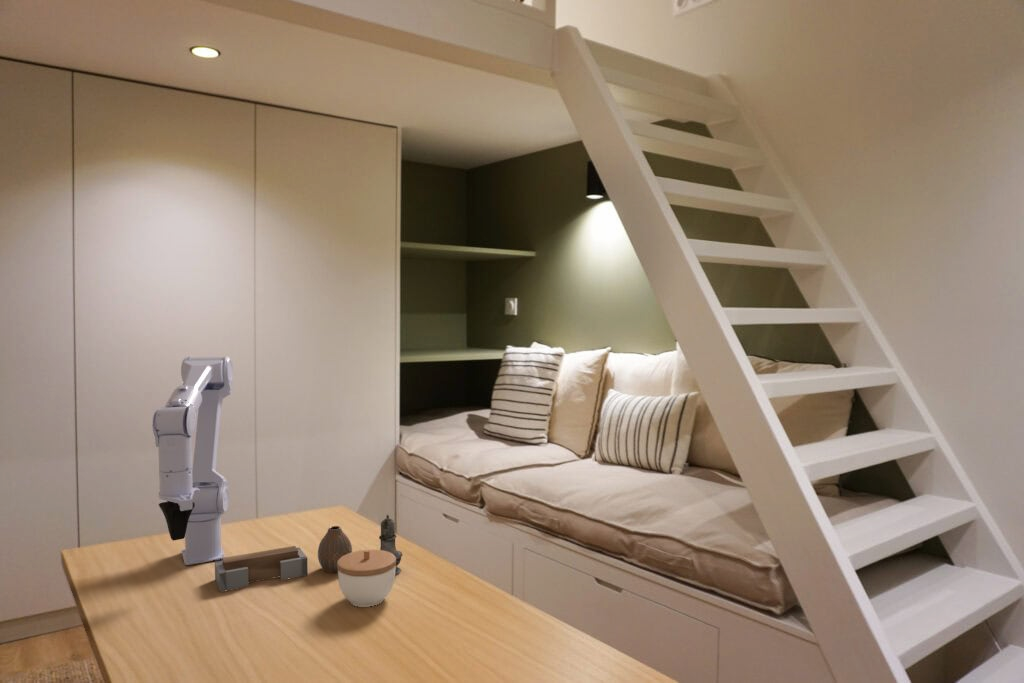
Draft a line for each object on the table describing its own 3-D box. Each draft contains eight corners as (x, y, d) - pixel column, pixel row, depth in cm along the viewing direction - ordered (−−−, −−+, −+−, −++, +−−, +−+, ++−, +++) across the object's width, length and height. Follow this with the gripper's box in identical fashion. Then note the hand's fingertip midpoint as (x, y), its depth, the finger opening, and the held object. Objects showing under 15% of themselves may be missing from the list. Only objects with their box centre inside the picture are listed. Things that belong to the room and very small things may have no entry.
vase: (356, 563, 148) (356, 522, 147) (345, 576, 141) (345, 533, 140) (325, 562, 148) (324, 521, 148) (312, 575, 142) (312, 532, 141)
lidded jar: (407, 594, 132) (407, 545, 132) (373, 617, 122) (373, 565, 122) (361, 584, 137) (361, 537, 136) (325, 606, 127) (324, 556, 126)
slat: (223, 582, 138) (222, 557, 138) (295, 569, 145) (294, 545, 145) (225, 587, 136) (224, 562, 135) (298, 574, 142) (298, 550, 142)
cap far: (274, 568, 145) (273, 551, 145) (299, 564, 147) (299, 547, 147) (281, 580, 139) (280, 562, 139) (307, 575, 141) (307, 557, 141)
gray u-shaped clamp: (215, 579, 139) (214, 561, 139) (242, 574, 142) (242, 557, 142) (219, 592, 133) (219, 573, 133) (248, 586, 136) (248, 568, 135)
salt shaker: (407, 568, 145) (407, 511, 144) (394, 579, 139) (393, 520, 139) (382, 565, 147) (382, 509, 146) (368, 575, 141) (367, 517, 140)
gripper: (208, 472, 130) (210, 544, 131) (187, 459, 141) (189, 525, 142) (167, 479, 126) (170, 552, 126) (149, 464, 137) (151, 532, 138)
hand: (177, 538), depth 134 cm, fingers closed
